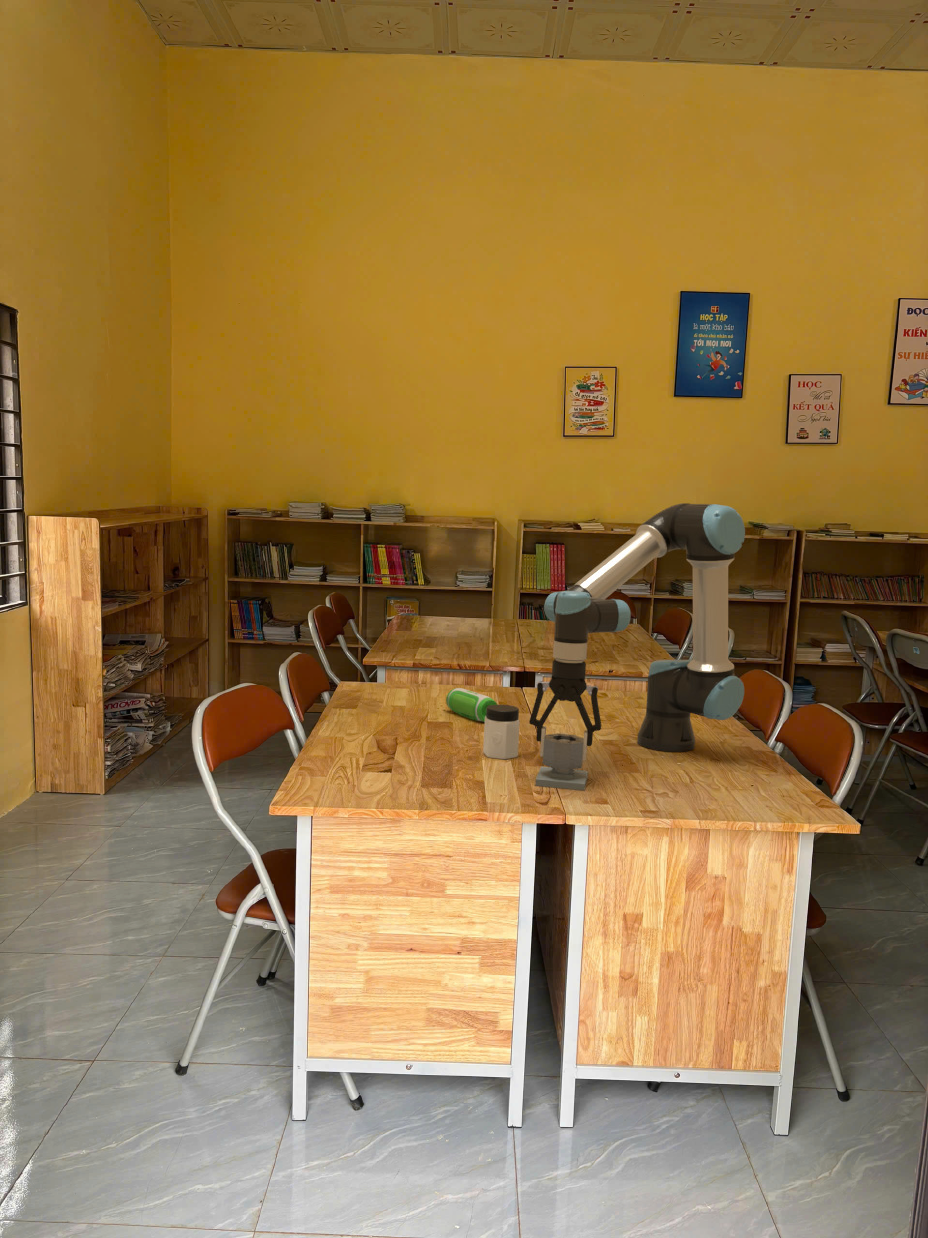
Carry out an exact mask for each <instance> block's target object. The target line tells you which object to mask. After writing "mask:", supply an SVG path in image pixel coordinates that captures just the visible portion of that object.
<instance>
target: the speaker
mask: <svg viewBox="0 0 928 1238" xmlns="http://www.w3.org/2000/svg"><path fill="white" fill-rule="evenodd" d="M445 702H446V705H447V707H448V708H449V709H450V710H451V711H452V712H453V713H456V714H457V715H459V716H461V717H463V718H467V719H470V720H473V721H477V722H481V723H485V716H486V708H487V706H490V705H498V703H497V701H495V700H494V699H493V698H492V697H490V696H487V695H484V694H482V693H478V692H475V691H471V690H469V689H466V688H462V687H456V688H453V689H450V691H449V692H448V693H447V695H446V697H445Z"/></svg>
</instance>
